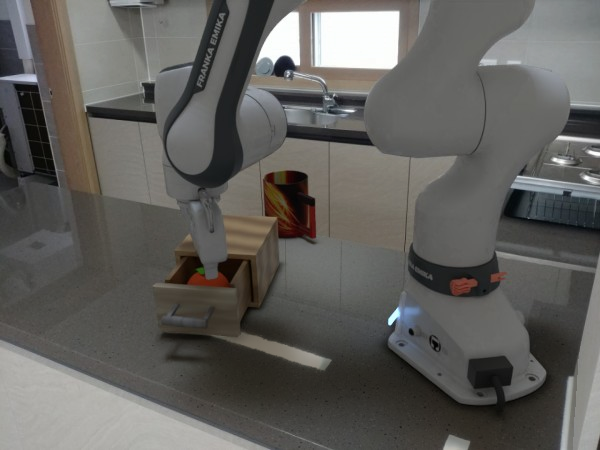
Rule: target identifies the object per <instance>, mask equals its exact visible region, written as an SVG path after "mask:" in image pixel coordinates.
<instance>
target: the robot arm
mask: <svg viewBox="0 0 600 450" xmlns="http://www.w3.org/2000/svg"><path fill="white" fill-rule="evenodd" d="M306 2H308V0H213V1H212V4H211V8H210V11H209V13H208V15H207V18H206V19H207V20H206V23H205V26H204V29H203V33H202V35H201V39H200V41H199V44H198V48H197V51H196V55H195V57H194V60H193V61H189V62H185V63H179V64H175V65H171V66H167V67H165V68H163V69H161V70H160V71H159V72H158V73H157V75H156V78H155V82H154V94H153V95H154V110H155V119H156V128H157V132H158V135H159V137H160V140H161V143H162V155H161V162H162V163H161V164H162V168H163V169H162V170H163V176H164V184H165V191H166V195H167V196H168V197H169V198H171V199H175V200H176V204H177V206H178V207H179V210H180V213H181V216H182V218H183V220H184V223H185V226H186V228H187V231H188V234H189V233H190V236H191V238H192V240H193V243H194V246H195V252H196V254H197V256H199V257H200V260H201V262H202V264H204V265H203V267H204V274H205V277H206V279H208V280H210V279H215V278H217V277H218V270H217V266H218V263H219V262H223V261H226V260H227V256H228V251H227V243H226V235H225V228H224V221H223V216H222V215H223V213H222V209H221V207H220V204H219V202H220V201H221V199H222V198H221V195H222V194H224V193H226V191H227V190H228V189H229V181H230V180H231V179H233V178H234V177H235V176H237V175H238V174H239V173H241V172H244V171H245V170H246V169H248V168H250V167H252V166H254V165H255V164H258V163H259V162H260V161H262V160H264V159H266V158H268V157H269V156H271V155H272V154H274V153H275V152H276V151H278V150H279V149H280V148H281V147H282V146H283V145H284V143H285V141H286V138H287V134H288V129H289V127H288V118H287V114H286V110H285V108H284V106H283V105H282V103H281V101H280V99H278V97H277V96H276V95H274V94H273V93H272V92H270V91H269V90H267V89H264V88H258V87H254V86H252V85H250V82H251V79H252V77H253V73H254V71H255V68H256V65H257V63H258V59H259V56H260V54H261V52H262V49H263V46H264V45H265V42H266V41H267V39H268V37H269V35H270V34H271V33H272V31H273V30H275V28H276V26H278V24H280V22H281V21H283V19H285V18H286V17H287V16H288V15H289V14H291V13H292V12H293V11H294V10H296V9H297V8H298V7H300V6H301V5H303V4H304V3H306ZM535 5H536V0H430V4H429V7H428V12H427V16H426V17H425V20H424V23H423V25H422V27H421V30H420V31H419V33H418V35H417V37H416V39H415V41H414V42H413V44H412V45H411V47H410V48H409V49H408V51H407V52H406V54H404V56H403V57H402V58H401V59H400V60H399V61H398V63H397V64H395V66H394V67H392V68H391V69H390V70H388V72H386V73H385V74H384V75H382V76H381V77H379V79H377V80H376V82H375V83H374V84H373V86H372V87H371V88H370V90H369V92H368V94H367V97H366V99H365V103H364V107H363V123H364V128H365V131H366V134H367V137H368V138H369V140H370V142H371V143H372V145H373V146H374V147H375V148H376V150H378V151H379V152H380V153H382V154H383V155H390V156H396V157H403V158H412V159H429V158H442V157H443V158H444V157H455V159H454V160H453V162H452V164H451V165H450V166H449V167H448V168H447V170H445V171H444V172H443V173H442V174H440V175H439V176H437V177H435V178H434V179H432V180H430V181H429V182H428V183H426V184H425V185H424V186H423V187H422V189H420V191H419V193H418V195H417V198H416V200H415V203H414V216H413V232H412V233H413V234H412V242H411V243H410V245H409V249H408V253H407V271H408V273H409V275H408V277H407V280H406V283H405V284H404V287H403V288H402V290H401V292H400V296H399V302H398V306H397V308H396V310H394V312H393V313H392V314H391V315H390V317H388V326H391V325H392V324H393V322H394V321H395V327H394V331H392V333H391V334H390V335H389V337H388V340H387V347H388V349H390V350H391V351H393V352H394V354H396V355H397V356H399V357H400V358H401V359H402V360H404V361H405V362H406V363H408V364H409V365H410V366H411V367H412V368H414V369H415V370H416V371H417V372H419V373H420V374H422V375H423V376H424V377H425V378H426V379H428V380H429V381H430V382H431V383H433V384H434V385H435V386H436V387H438V388H439V389H440V390H442V391H443V392H444V393H445V394H447V395H448V396H449V397H450V398H452V399H453V400H454V401H456V402H457V403H459V404H463V405H469V406H490V405H495V406H494V411H495V412H496V413H498V414H500V413H503V412H504V409H505V406H506V402H508V401H509V402H510V401H513V400H516V399H519V398H522V397H524V396H527V395H530V394H532V393H533V392H535V391H537V390H538V389H540V388H541V387H542V386H543V384H544V383H545V381H546V379H547V371H546V369H545V368H544V367H543V365H542V364H541V363H540V362H539V361H538V360H537V359H536V357H534V355H533V354H532V353H531V351H530V349H531V343H530V342H531V341H530V335H529V331H528V329H527V328H526V326H525V323H526V320H525V318H526V317H525V315H524V313H523V312H522V311H521V310H519V309H515V308H514V306H513V304H512V303H511V301H510V300H509V298H508V296H507V294H506V293H505V291H504V289H503V287H502V286H501V281H503V280H506V279H507V278H506V277H504V276H505V275H507V271H501V272H500V266H499V260H498V255H497V252H496V250H495V248H496V242H497V235H498V230H499V224H500V219H501V214H502V210H503V207H504V203H505V200H506V197H507V195H508V193H509V191H510V190H511V187H512V186H513V184H514V183H515V180H516V179H517V177H518V176H519V175H520V173H521V172H522V170H523V169H524V168H525V166H526V165H527V164H528V163H529V162H530V161H531V160H532V158H534V157H535V156H536V155H537V154H538V153H539V152H540V151H542V150H543V149H544V148H546V146H548V145H550V144H552V143H553V142H554V141H555V140H557V138H558V137H559V136H560V135H561V134H562V132H563V130H565V127H566V125H567V123H568V121H569V117H570V113H571V96H570V91H569V89H568V86H567V83H566V82H565V80H564V79H563V78H562V76H561V75H560V74H559V73H558V72H556V71H555V70H553V69H549V68H545V67H539V66H533V65H529V64H528V65H526V64H520V63H509V64H491V65H488V64H487V65H480V64H481V63H480V62H481V61H482V60H483V58H484V57H485V55H486V54H487V52H488V51H489V50H490V49H491V48H492V47H493V46H494V45H496V44H497V43H498V42H499V41H501V40H502V39H504V38H505V37H507V36H509V35H511V34H513V33H515V32H516V31H517V30H519V29H520V28H522V26H523V25H525V23H526V22H527V21H528V19H529V18H530V16H531V14H532V12H533V11H534V9H535Z"/></svg>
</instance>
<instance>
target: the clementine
mask: <svg viewBox="0 0 600 450" xmlns="http://www.w3.org/2000/svg"><path fill="white" fill-rule="evenodd" d="M196 271H198V272H197V273H196V274H195V272H196ZM187 285H198V286H212V287H227V288H230V285H229V282H228V280H227V279H226V277H225V276H224V275H222V274H221V273H220V272H218V277H217V278H215V279H210V280H208V279H206V277H205V274H204V268H198V269H195V270H194V275H193V276H192V277H191V278H190V280H189V281H188V283H187Z"/></svg>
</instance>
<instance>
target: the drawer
mask: <svg viewBox="0 0 600 450" xmlns="http://www.w3.org/2000/svg"><path fill="white" fill-rule="evenodd" d="M203 265H204V264H202V262H201V260H200V257H197V256H184V257H183V258H182V260H181V261H180V262H179V263H178V264H177V266H176V265H175V267H174V268H173V269H172V270H171V271H170V272H169V274H168V275H167V276H166V277H165V278H164V282H154V284H153V285H152V292H153V297H154V298H153V299H154V305H155V312H156V317H157V324H158V331H159V332H164V333H165V332H166V333H177V334H178V333H179V334H189V335H201V336H211V337H223V338H234V339H235V338H236V339H238V338H240V336H241V321H242V319H243V317H244V315H245V314H246V311H247V309H248V308H249V307H248V305H249V303H250V301H251V299H252V297H253V282H252V268H251V260H247V259H230V258H227V260H226V261H223V262H219V263H218V266H217V270H218V272H220V273H221V274H222V275H224V276H225V277H226V279H227V280H228V282H229V285H230V288H227V287H212V286H198V285H187V283H188V281H189V280H190V278H191V277H192V276H193V275H194V270H195V269H198V268H204V267H203ZM197 272H198V271H196V272H195V274H196V273H197Z"/></svg>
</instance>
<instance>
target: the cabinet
mask: <svg viewBox="0 0 600 450" xmlns="http://www.w3.org/2000/svg"><path fill="white" fill-rule="evenodd" d="M222 216H223V221H224V228H225V235H226V243H227V251H228V256H227V258H230V259H247V260H251V268H252V282H253V297H252V299H251V301H250V303H249V305H248V307H247V308H259V309H260V307H261V305H262V304H263V301H264V299H265V297H266V295H267V293H268V290H269V288H270V286H271V283H272V281H273V279H274V277H275V275H276V274H277V271H278V268H279V266H280V264H281V263H280V262H281V261H280V243H279V242H280V241H279V238H278V222H277V221H278V220H277V217H265V216H264V215H263V216H262V215H261V216H259V215H238V214H222ZM173 252H174V258H175V267H176V266H177V264H178V263H179V262H180V261H181V260H182V258H183V257H184V256H197V254H196V252H195V246H194V243H193V240H192V238H191V236H190V233H189V232H188V234H187V236H185V238H184V239H183V240H182V241H181V242H180V243H179V244H178V246H176V248H175V249H174V250H173ZM197 257H199V256H197Z"/></svg>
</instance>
